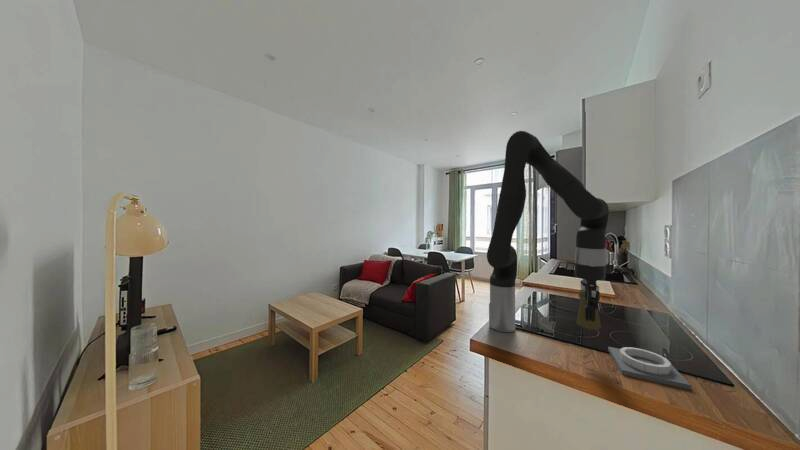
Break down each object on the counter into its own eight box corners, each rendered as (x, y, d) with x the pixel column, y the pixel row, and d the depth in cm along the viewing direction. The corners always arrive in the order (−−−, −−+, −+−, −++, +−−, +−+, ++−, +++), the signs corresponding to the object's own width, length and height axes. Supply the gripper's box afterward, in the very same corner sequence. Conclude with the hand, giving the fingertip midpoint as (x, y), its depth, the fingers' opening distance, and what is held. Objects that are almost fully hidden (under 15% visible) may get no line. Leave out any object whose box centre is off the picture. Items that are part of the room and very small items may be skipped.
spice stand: (621, 374, 66) (621, 362, 66) (608, 350, 78) (608, 340, 78) (691, 390, 59) (691, 377, 59) (664, 361, 72) (664, 350, 72)
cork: (605, 330, 70) (606, 293, 70) (582, 328, 72) (583, 291, 71) (593, 321, 76) (594, 287, 76) (572, 320, 78) (573, 286, 77)
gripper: (571, 258, 82) (570, 308, 82) (578, 265, 69) (576, 324, 70) (600, 260, 78) (598, 312, 78) (612, 268, 66) (610, 330, 66)
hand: (588, 317), depth 74 cm, fingers closed on cork, 4 cm apart
